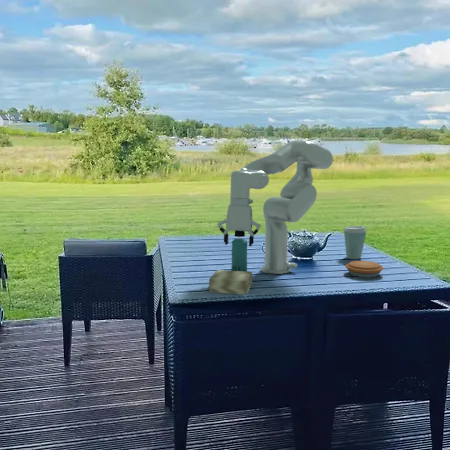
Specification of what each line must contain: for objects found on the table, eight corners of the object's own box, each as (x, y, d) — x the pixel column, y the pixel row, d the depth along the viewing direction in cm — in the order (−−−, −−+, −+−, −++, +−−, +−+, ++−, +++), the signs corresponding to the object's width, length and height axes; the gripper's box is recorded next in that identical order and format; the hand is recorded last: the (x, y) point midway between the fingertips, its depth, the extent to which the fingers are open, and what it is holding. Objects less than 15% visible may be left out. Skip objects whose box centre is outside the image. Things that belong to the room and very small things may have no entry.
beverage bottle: (246, 277, 228) (247, 229, 224) (247, 281, 221) (248, 232, 218) (230, 277, 228) (231, 229, 224) (231, 281, 221) (231, 232, 218)
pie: (387, 273, 236) (387, 261, 236) (377, 281, 223) (377, 269, 222) (351, 268, 244) (352, 257, 243) (339, 276, 231) (340, 264, 230)
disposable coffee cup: (341, 259, 260) (343, 227, 258) (342, 254, 271) (344, 224, 268) (365, 260, 258) (366, 229, 255) (365, 255, 268) (366, 225, 266)
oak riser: (251, 284, 218) (252, 271, 217) (246, 294, 204) (246, 281, 203) (216, 282, 220) (216, 269, 219) (209, 292, 207) (209, 279, 206)
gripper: (262, 202, 221) (261, 244, 224) (220, 200, 224) (219, 242, 227) (260, 204, 214) (258, 248, 216) (216, 202, 217) (215, 245, 220)
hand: (238, 244), depth 222 cm, fingers open, 9 cm apart
